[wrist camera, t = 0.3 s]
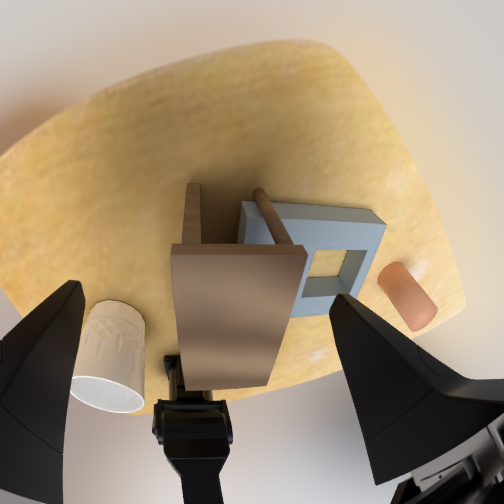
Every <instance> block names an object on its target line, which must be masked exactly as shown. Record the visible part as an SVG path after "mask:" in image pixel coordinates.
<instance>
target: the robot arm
mask: <svg viewBox="0 0 504 504" xmlns="http://www.w3.org/2000/svg"><path fill="white" fill-rule="evenodd" d="M84 310H85V297H84V293H83V289H82V285H81V282H80V281H77V280H68V281H67V282H66V283H64V284H63V285H62V286H61V287H59V288H58V289H57V290H56V291H55V292H53V293H52V294H51V295H50V296H49V297H47V298H46V299H45V300H44V301H43V302H42V303H40V304H39V305H38V306H37V307H36V308H35V309H34V310H32V311H31V312H30V313H29V314H28V315H27V316H26V317H25V318H23V319H22V320H21V321H20V322H19V323H18V324H17V325H16V326H15V327H14V328H13V329H12V330H11V331H9V332H8V333H7V334H6V335H5V336H4V337H3V338H2V340H0V504H39V502H42V503H46V504H63V478H62V477H63V476H62V475H63V455H62V454H63V446H64V432H65V424H66V415H67V408H68V401H69V394H70V388H71V382H72V377H73V372H74V367H75V362H76V358H77V353H78V349H79V343H80V336H81V329H82V323H83V316H84ZM329 317H330V321H331V325H332V330H333V334H334V339H335V344H336V348H337V351H338V354H339V358H340V361H341V364H342V367H343V370H344V373H345V376H346V379H347V383H348V386H349V389H350V393H351V396H352V399H353V403H354V406H355V409H356V413H357V416H358V420H359V423H360V427H361V431H362V434H363V438H364V441H365V446H366V450H367V453H368V457H369V461H370V465H371V469H372V473H373V478H374V482H375V484H376V485H379V484H382V483H385V482H387V481H390V480H392V479H395V478H397V477H399V476H402V475H404V474H406V473H408V472H411V474H412V476H411V477H410V478H408V479H406V480H404V481H403V482H401V483H399V484H398V486H397V489H396V491H395V494H394V496H393V498H392V501H391V503H390V504H504V379H487V380H485V379H484V380H474V379H469V378H465V377H463V376H462V375H460V374H459V373H457V372H455V371H454V370H453V369H451V368H450V367H448V366H447V365H445V364H443V363H442V362H440V361H439V360H437V359H436V358H435V357H433V356H432V355H430V354H429V353H428V352H426V351H425V350H424V349H422V348H421V347H420V346H418V345H416V343H414V342H413V341H412V340H410V339H409V338H408V337H406V336H405V335H404V334H402V333H401V332H400V331H398V330H397V329H396V328H394V327H393V326H392V325H390V324H389V323H388V322H386V321H385V320H384V319H382V318H381V317H380V316H378V315H377V314H376V313H374V312H373V311H372V310H370V309H369V308H368V307H366V306H365V305H363V304H362V303H361V302H359V301H358V300H357V299H355V298H354V297H352V296H351V295H350V294H348V293H339V294H337V295H336V297H335V299H334V301H333V303H332V305H331V307H330V310H329ZM164 363H165V368H166V372H167V376H168V380H169V400H162V399H158V403H157V404H154V418H153V426H152V433H153V434H154V435H155V436H156V438H157V440H158V443H159V445H163V446H164V453H165V456H166V458H167V460H168V462H169V463H170V465H171V466H172V467H173V469H174V470H175V471H176V473H177V474H178V475H179V476H180V478H181V483H182V491H183V499H184V504H224V502H223V497H222V492H221V486H220V479H219V473H220V471H221V469H222V467H223V465H224V463H225V461H226V459H227V457H228V455H229V453H230V447H229V445H230V444H232V442H233V432H232V425H231V421H230V416H229V412H228V408H227V404H226V400H221V401H213V396H212V390H196V391H186V389H185V383H184V376H183V370H182V363H181V356H165V357H164Z"/></svg>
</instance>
